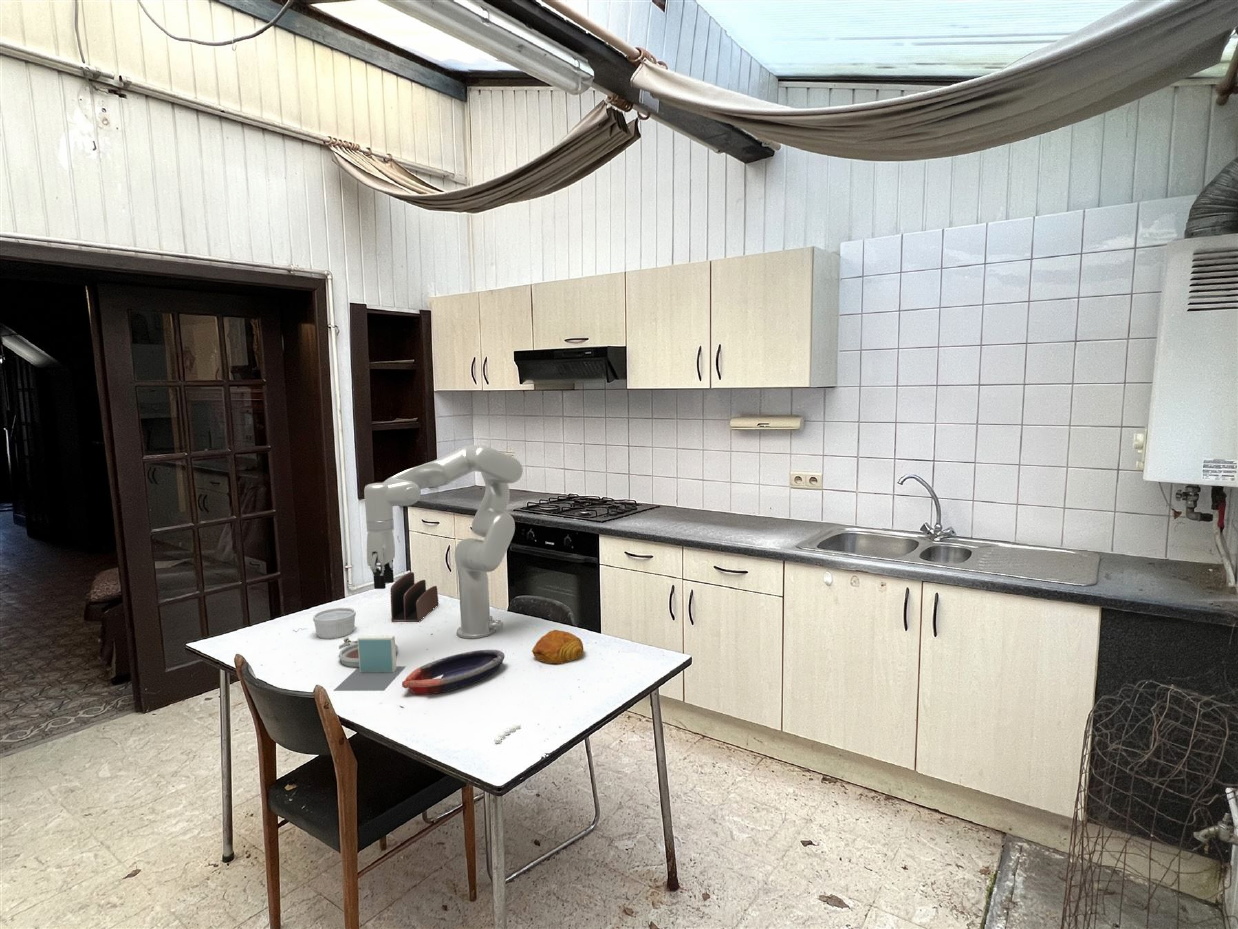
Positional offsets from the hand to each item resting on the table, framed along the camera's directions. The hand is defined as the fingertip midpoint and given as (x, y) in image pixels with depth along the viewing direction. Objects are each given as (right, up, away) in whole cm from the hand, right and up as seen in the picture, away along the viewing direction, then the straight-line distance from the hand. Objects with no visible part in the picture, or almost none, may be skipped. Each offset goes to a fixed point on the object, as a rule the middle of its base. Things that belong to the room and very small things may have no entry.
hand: (384, 585), depth 199 cm
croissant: (+51, -22, +4) cm, 56 cm away
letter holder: (-4, -19, +46) cm, 50 cm away
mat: (0, -25, -10) cm, 27 cm away
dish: (+24, -25, -12) cm, 36 cm away
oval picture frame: (-10, -23, +9) cm, 27 cm away
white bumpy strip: (+44, -28, -44) cm, 68 cm away
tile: (0, -24, -5) cm, 24 cm away
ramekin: (-26, -22, +28) cm, 44 cm away
